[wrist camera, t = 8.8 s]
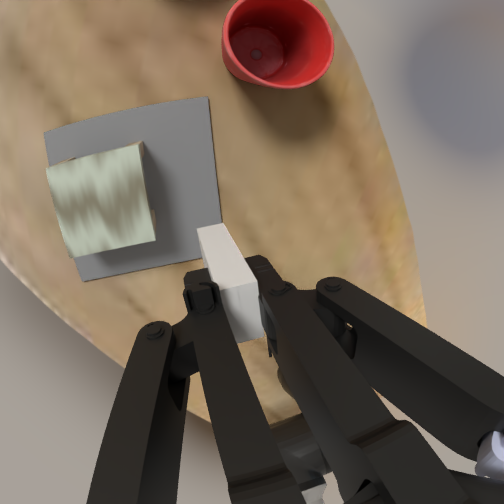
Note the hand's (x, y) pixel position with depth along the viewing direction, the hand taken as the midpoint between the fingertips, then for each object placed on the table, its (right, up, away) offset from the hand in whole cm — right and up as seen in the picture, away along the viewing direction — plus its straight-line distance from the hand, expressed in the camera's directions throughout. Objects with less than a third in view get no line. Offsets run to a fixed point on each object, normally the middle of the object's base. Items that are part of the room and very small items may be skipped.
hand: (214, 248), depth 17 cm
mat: (-12, +7, +17) cm, 22 cm away
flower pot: (+2, +23, +14) cm, 27 cm away
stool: (-9, +7, +14) cm, 18 cm away
